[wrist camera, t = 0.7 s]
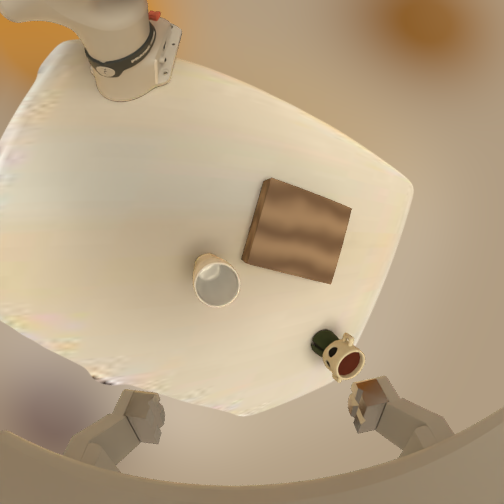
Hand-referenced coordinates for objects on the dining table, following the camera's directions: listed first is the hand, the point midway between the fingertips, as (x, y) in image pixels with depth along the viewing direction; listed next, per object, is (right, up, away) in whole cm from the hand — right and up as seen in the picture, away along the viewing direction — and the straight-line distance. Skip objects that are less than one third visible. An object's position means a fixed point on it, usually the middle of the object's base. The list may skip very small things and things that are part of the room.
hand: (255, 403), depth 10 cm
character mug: (+16, -15, +52) cm, 57 cm away
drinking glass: (-9, +3, +43) cm, 44 cm away
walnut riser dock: (+8, +10, +47) cm, 48 cm away
